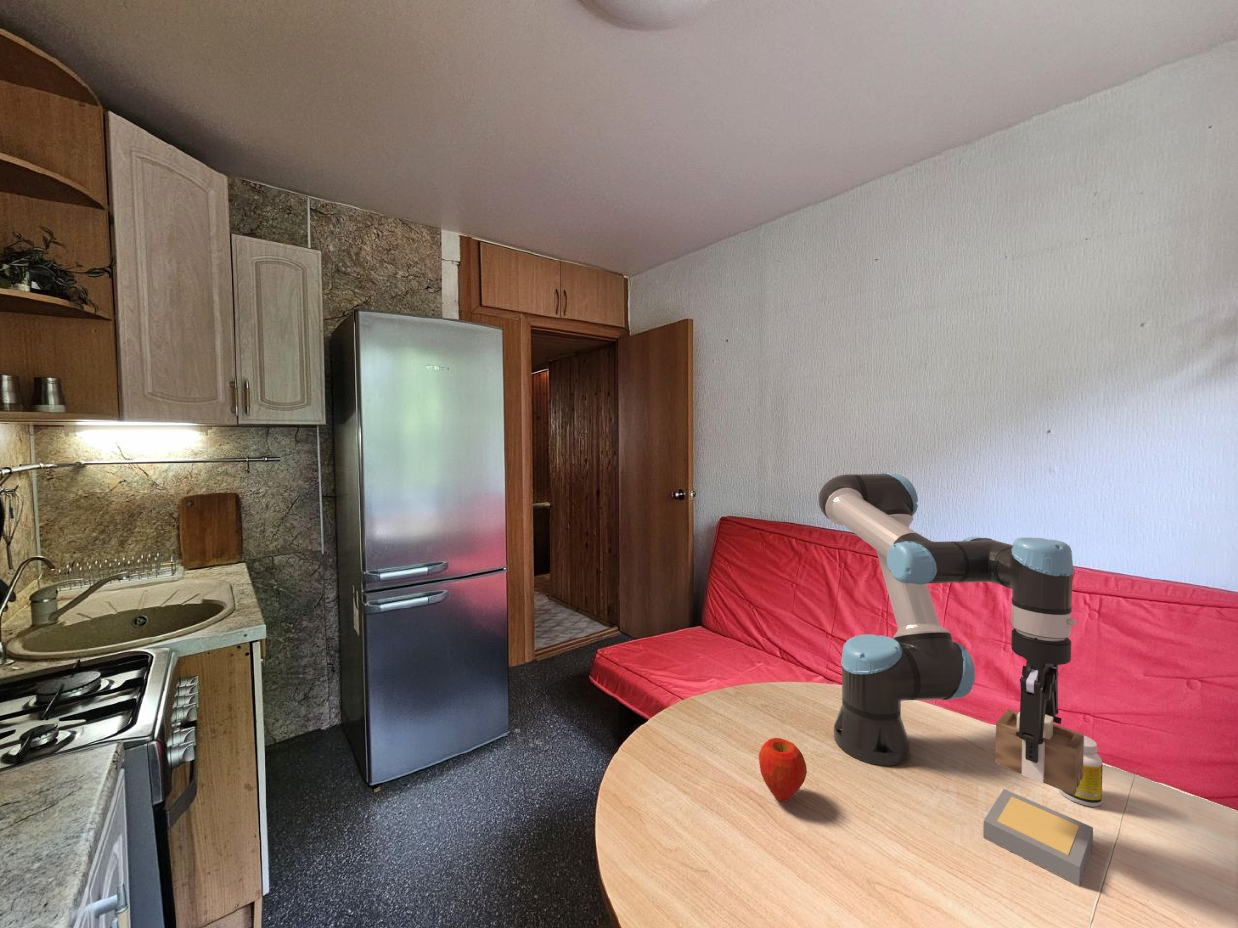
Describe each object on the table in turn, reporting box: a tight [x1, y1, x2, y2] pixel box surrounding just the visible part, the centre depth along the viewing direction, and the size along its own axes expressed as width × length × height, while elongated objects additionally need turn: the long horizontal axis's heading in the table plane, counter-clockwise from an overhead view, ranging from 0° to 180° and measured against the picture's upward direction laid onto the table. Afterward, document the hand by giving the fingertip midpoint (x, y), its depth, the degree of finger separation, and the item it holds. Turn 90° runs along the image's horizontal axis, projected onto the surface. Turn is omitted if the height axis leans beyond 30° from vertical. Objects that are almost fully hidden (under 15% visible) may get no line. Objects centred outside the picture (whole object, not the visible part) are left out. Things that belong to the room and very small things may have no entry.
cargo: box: [1017, 711, 1054, 740], centre depth 82 cm, size 4×4×3 cm
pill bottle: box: [1057, 735, 1103, 807], centre depth 92 cm, size 6×6×11 cm
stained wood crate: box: [995, 709, 1085, 795], centre depth 82 cm, size 10×7×7 cm
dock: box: [982, 788, 1094, 887], centre depth 82 cm, size 12×12×3 cm
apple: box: [758, 737, 808, 802], centre depth 93 cm, size 9×8×11 cm
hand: (1038, 767), depth 82 cm, fingers closed on stained wood crate, 7 cm apart
